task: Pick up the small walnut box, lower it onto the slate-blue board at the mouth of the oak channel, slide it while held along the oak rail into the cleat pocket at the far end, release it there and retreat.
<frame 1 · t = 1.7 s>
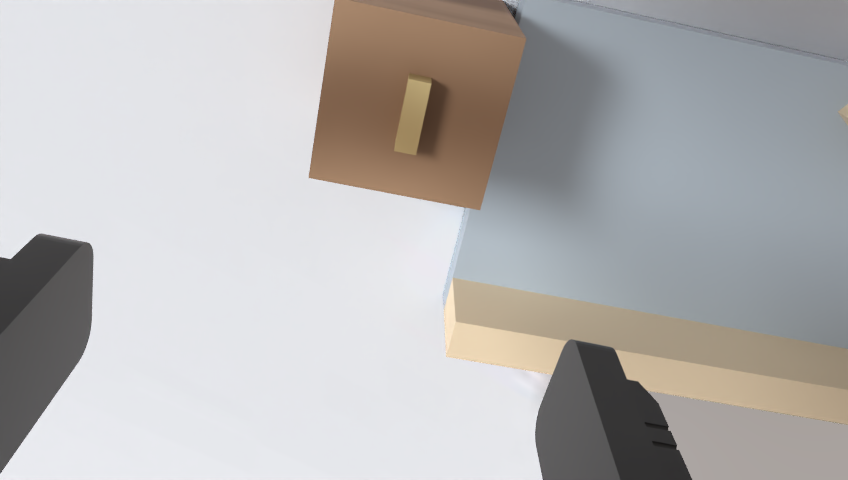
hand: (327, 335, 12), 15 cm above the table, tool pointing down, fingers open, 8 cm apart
walnut box: (414, 59, 25), on the table
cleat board: (759, 212, 27), on the table
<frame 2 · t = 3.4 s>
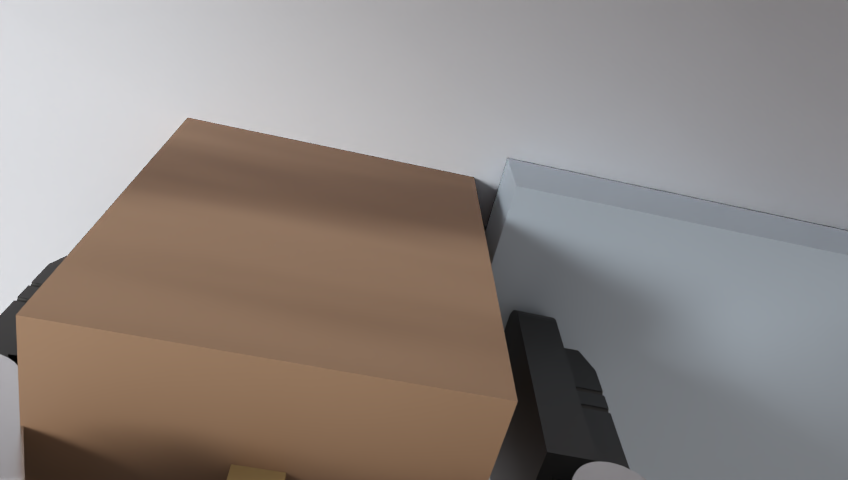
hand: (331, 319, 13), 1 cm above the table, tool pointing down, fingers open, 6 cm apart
walnut box: (312, 269, 14), on the table, touching gripper
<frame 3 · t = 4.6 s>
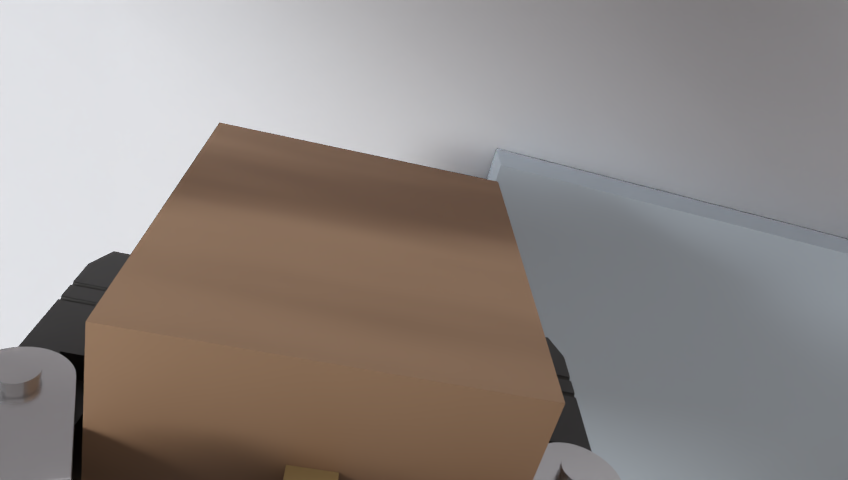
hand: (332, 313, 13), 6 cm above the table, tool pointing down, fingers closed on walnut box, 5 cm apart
walnut box: (337, 272, 14), point 4 cm above the table, touching gripper
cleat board: (796, 431, 21), on the table
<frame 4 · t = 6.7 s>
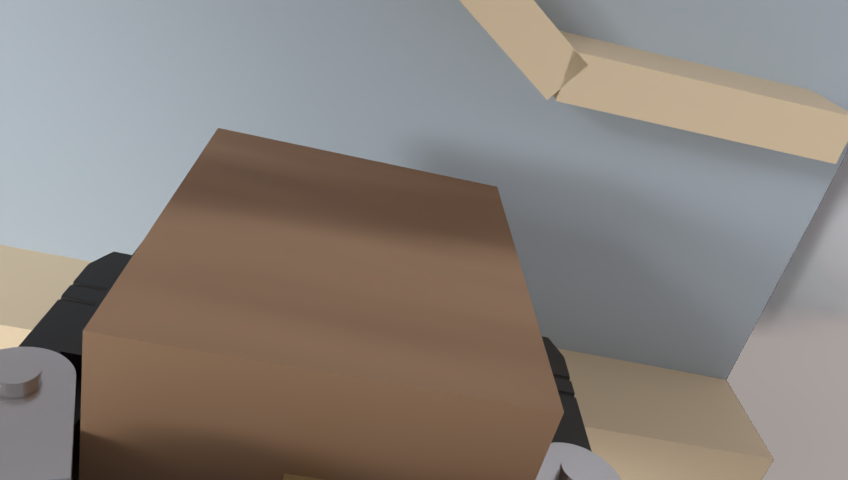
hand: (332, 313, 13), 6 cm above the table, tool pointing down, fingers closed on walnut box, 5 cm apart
walnut box: (336, 276, 14), point 5 cm above the table, touching gripper
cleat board: (367, 129, 18), on the table
when the fingers open (3 cm above the table, at t = 9.1 s): walnut box stays where it is, resting on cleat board.
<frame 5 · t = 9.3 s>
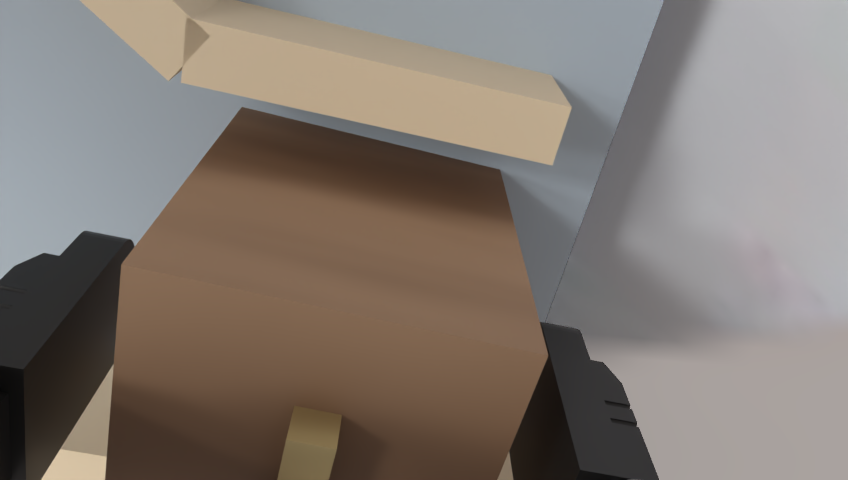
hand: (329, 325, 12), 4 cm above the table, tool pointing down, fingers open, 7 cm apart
walnut box: (346, 251, 15), point 1 cm above the table, touching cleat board
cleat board: (44, 121, 15), on the table
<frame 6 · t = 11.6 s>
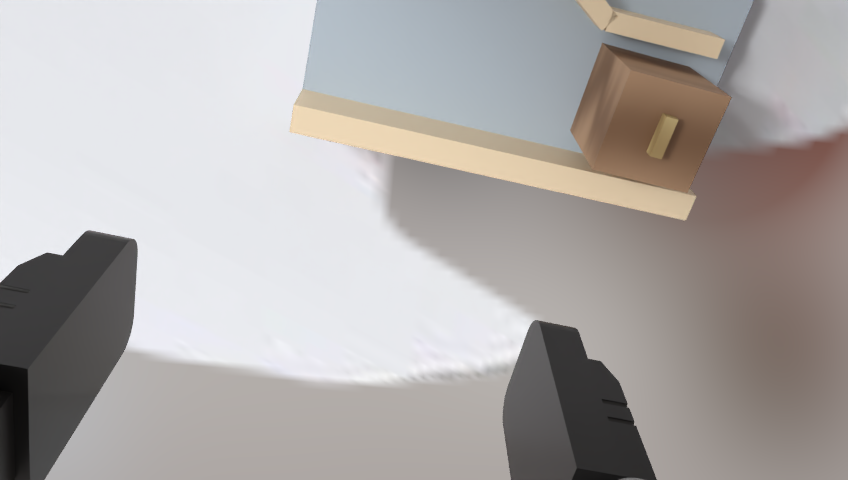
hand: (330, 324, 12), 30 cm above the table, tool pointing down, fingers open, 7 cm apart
walnut box: (628, 99, 40), point 1 cm above the table, touching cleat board
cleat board: (516, 50, 40), on the table
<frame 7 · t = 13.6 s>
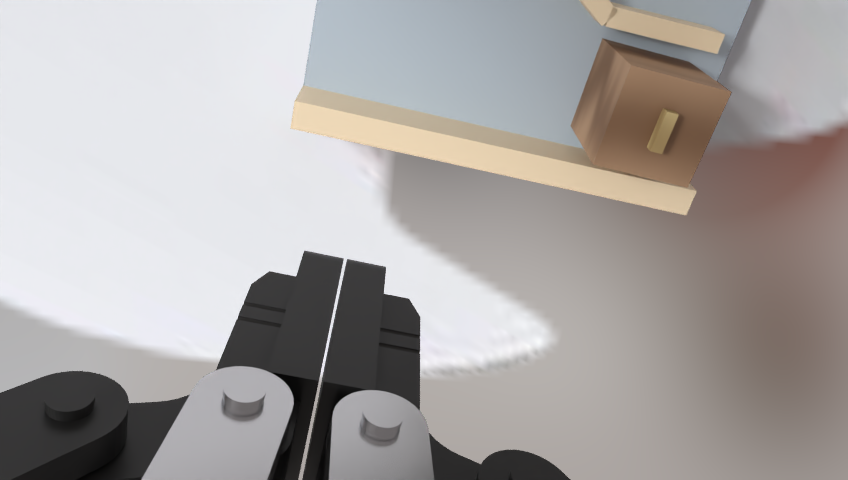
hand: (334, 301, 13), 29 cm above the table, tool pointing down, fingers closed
walnut box: (628, 94, 40), point 1 cm above the table, touching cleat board
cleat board: (517, 45, 40), on the table
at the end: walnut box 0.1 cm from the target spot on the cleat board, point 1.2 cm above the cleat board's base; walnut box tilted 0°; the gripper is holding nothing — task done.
